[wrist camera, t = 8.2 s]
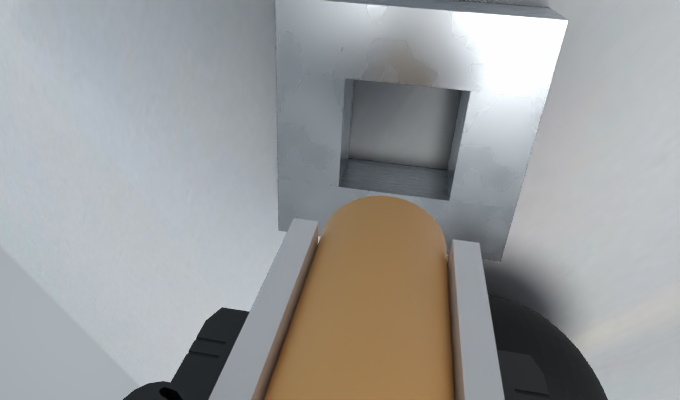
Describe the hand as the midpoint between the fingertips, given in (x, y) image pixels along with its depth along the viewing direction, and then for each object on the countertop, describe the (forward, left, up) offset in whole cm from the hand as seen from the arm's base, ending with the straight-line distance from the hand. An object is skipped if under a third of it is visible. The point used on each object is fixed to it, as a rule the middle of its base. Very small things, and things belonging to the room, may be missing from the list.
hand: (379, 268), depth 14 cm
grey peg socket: (0, 0, -13) cm, 13 cm away
